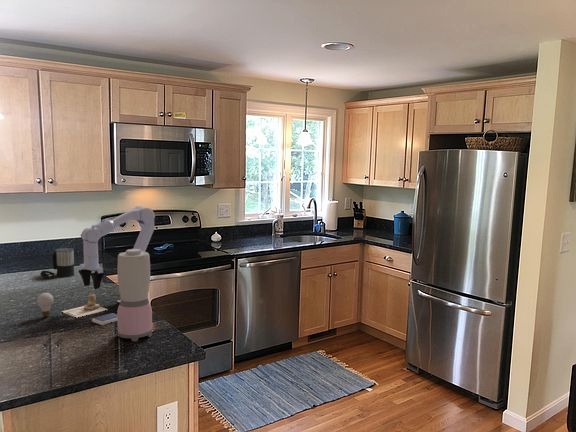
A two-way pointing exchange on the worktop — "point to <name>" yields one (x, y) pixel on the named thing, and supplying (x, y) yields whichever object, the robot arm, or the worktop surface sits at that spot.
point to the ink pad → (105, 319)
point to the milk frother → (62, 263)
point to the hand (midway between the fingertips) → (91, 287)
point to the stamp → (91, 303)
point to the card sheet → (82, 311)
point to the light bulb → (45, 303)
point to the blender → (134, 295)
